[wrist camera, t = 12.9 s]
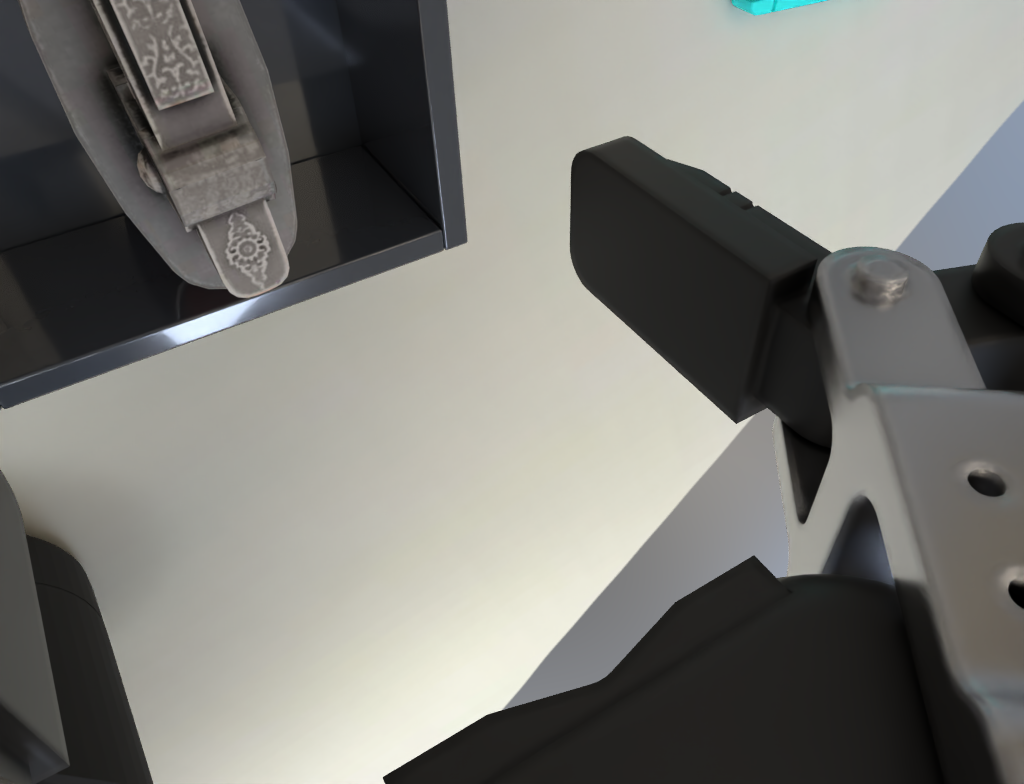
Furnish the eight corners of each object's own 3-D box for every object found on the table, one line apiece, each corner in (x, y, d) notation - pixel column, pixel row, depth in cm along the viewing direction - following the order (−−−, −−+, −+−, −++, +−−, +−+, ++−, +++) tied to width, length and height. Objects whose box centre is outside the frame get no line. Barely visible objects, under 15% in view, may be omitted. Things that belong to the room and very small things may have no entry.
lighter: (227, 117, 22) (375, 315, 16) (102, 160, 21) (207, 390, 15) (83, -258, 16) (229, -177, 10) (-100, -222, 15) (-66, -107, 9)
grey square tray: (-52, 276, 22) (-31, 424, 18) (-482, -375, 13) (-632, -369, 9) (375, 146, 26) (468, 243, 22) (280, -411, 17) (411, -418, 13)
